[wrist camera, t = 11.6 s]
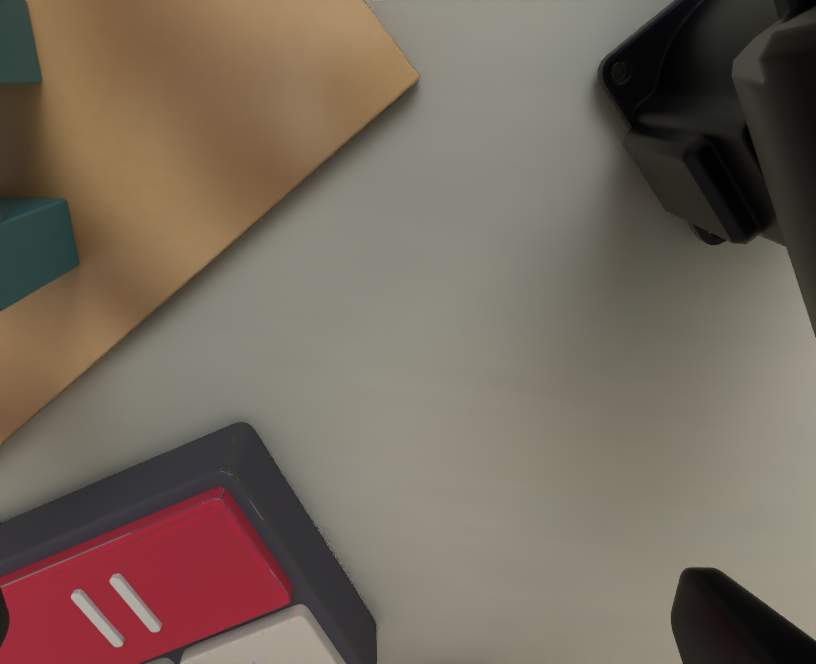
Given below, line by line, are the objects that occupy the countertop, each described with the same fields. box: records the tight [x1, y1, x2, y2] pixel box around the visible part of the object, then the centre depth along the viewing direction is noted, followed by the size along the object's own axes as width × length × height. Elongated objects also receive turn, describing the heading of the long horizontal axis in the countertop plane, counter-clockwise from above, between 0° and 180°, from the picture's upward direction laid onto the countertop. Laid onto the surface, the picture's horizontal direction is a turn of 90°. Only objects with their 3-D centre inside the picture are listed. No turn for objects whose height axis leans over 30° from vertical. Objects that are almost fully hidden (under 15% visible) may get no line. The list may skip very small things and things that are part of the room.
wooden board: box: [0, 0, 420, 446], centre depth 17 cm, size 20×12×1 cm, turn 129°
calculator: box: [0, 422, 377, 664], centre depth 22 cm, size 11×4×15 cm
